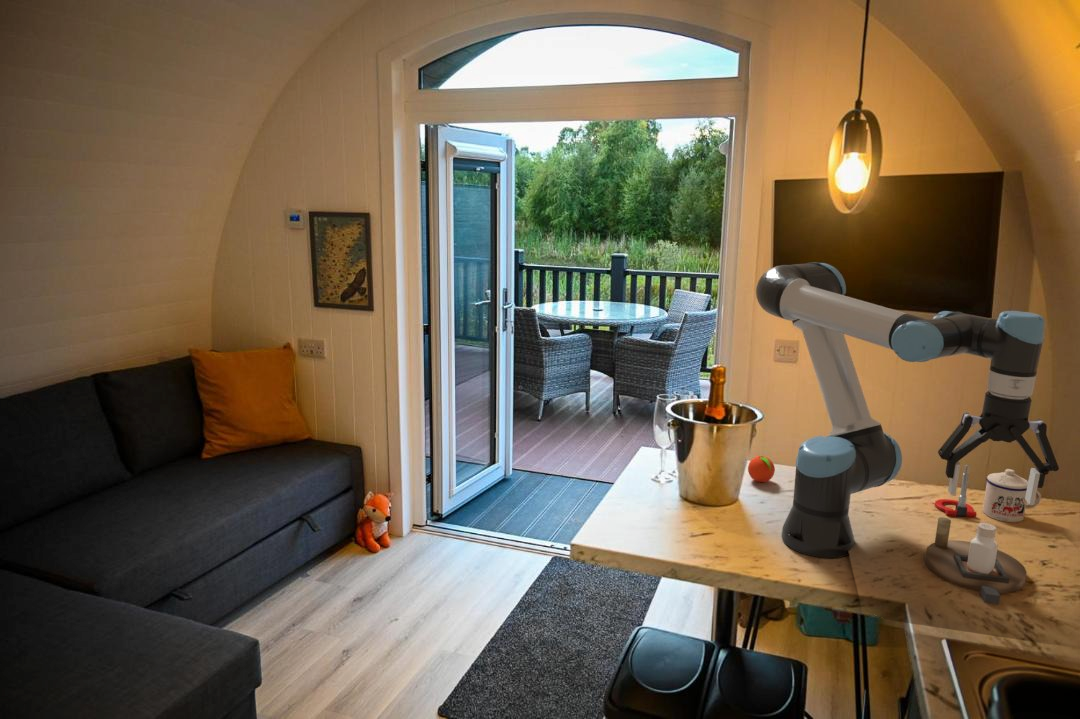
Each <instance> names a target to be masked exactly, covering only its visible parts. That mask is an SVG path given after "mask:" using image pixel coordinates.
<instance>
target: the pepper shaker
mask: <svg viewBox="0 0 1080 719" xmlns="http://www.w3.org/2000/svg"><path fill="white" fill-rule="evenodd" d="M996 532H997V527H996V526H995V525H993V524H991V523H986V522H980V523H978V524H977V528H976V536H975V537H973V538H972V539H971V541H970V542H971V543H970V550H969V556H968V562H967V568H968V569H970V570H972V571H975V572H978V573H982V574H989V573H990V572H991V571H993V570H994V566H995V560H996V554H997V550H998V546H999V544H998V542H997V541H995V538H996Z"/></svg>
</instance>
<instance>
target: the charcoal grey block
mask: <svg viewBox="0 0 1080 719" xmlns="http://www.w3.org/2000/svg"><path fill="white" fill-rule="evenodd" d="M979 592H980V591H979ZM979 594H980V597H981V600H983V602H984V603H985V604H994V605H999V603H1000V599H1001V594H1000V593H998V591H997V589H996V588H994V587H987V586H981V592H980V593H979Z"/></svg>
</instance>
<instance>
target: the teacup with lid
mask: <svg viewBox="0 0 1080 719" xmlns="http://www.w3.org/2000/svg"><path fill="white" fill-rule="evenodd" d="M985 480H986V484H985V485H986V487H985V492H984V498H983V506H982V511H983V514H985V515H986V516H988V517H989V518H992V519H993V520H997V521H1000V522H1004V523H1005V522H1006V523H1019V522H1021V521H1023V520H1024V518H1025V513H1026V512H1025V511H1026V509H1027V510H1028V509H1034V508H1036V507H1037V506H1038V505H1039V504H1040V502H1041V501H1042V500H1041V499H1042V495H1041V493H1040V492H1039V491H1038V490H1037V492H1036V497H1035V502H1034V505H1029V504H1027V503H1028V502H1027V501H1026V500H1025V496H1026V491H1027V486H1028V480H1027V479H1025V478H1023V477H1021V476H1019V475H1018V474H1016V471H1015V470H1014V469H1010V468H1006V469H1005V470H1004V471H1002V472H993V473H990V474H988V475H987V476H986V479H985Z"/></svg>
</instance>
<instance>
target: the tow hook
mask: <svg viewBox="0 0 1080 719" xmlns="http://www.w3.org/2000/svg"><path fill="white" fill-rule="evenodd" d="M969 468H970V466H969V465H967V464H966V465H964V472H963V473H962V480H961V486H960V494H959V496H958V500H956V499H949V498H946V499H945V498H944V499H940V498H939V499H937V500H935V502H934V507H935V508H936V509H938V510H940V511H942V512H944V513H945V516H951V517H952V516H953V517H960V518H966V517H967V518H976V517H977V511H975V510H974V507H973V506H972V505H970V504H969V503H967V491H968V490H967V489H968V484H969V483H968V482H969ZM945 505H954V506H955V507H954V508H955V509H954V508H951V507H948V506H945Z"/></svg>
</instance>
